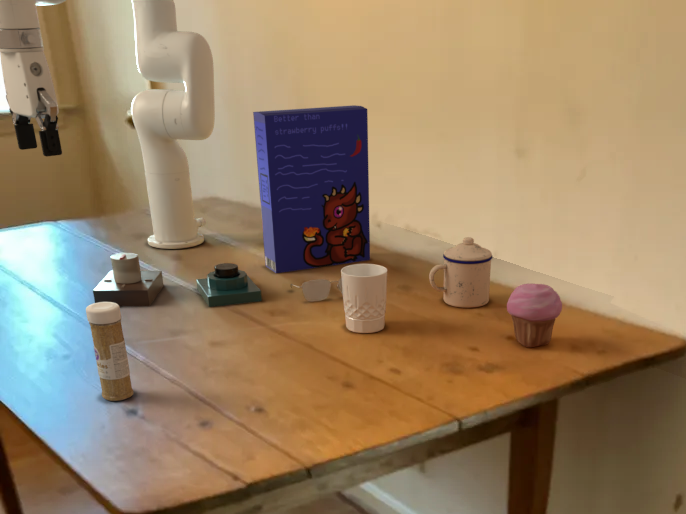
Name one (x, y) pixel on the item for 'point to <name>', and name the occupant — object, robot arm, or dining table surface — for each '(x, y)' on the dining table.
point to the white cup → (364, 297)
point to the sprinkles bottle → (110, 350)
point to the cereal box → (313, 186)
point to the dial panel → (130, 290)
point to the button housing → (228, 290)
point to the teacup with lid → (465, 275)
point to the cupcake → (534, 313)
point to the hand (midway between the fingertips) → (40, 152)
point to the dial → (126, 268)
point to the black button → (226, 270)
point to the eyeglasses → (318, 289)
